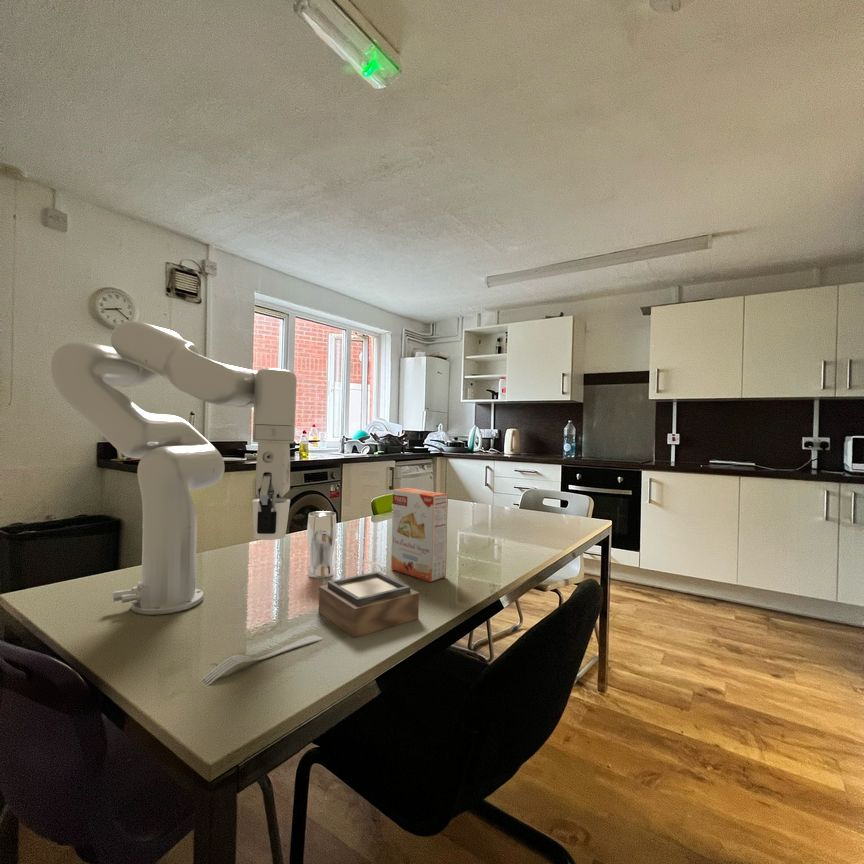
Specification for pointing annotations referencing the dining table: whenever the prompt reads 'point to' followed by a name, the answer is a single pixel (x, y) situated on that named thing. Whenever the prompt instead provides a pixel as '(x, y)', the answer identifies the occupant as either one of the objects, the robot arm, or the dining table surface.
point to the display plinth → (368, 603)
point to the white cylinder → (281, 519)
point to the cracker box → (419, 533)
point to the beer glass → (321, 543)
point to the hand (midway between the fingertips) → (270, 528)
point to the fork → (242, 658)
